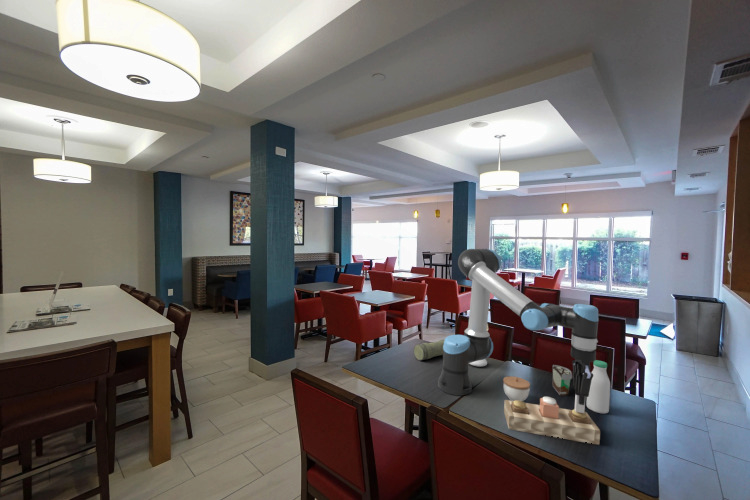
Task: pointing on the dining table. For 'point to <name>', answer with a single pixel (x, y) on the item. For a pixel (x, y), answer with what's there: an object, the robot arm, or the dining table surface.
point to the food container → (561, 379)
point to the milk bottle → (599, 389)
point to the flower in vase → (480, 362)
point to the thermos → (428, 350)
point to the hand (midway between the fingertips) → (579, 411)
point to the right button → (579, 417)
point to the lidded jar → (516, 388)
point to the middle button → (549, 407)
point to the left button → (519, 407)
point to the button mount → (551, 424)
